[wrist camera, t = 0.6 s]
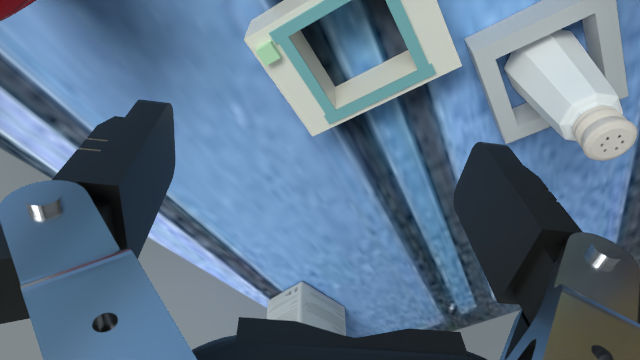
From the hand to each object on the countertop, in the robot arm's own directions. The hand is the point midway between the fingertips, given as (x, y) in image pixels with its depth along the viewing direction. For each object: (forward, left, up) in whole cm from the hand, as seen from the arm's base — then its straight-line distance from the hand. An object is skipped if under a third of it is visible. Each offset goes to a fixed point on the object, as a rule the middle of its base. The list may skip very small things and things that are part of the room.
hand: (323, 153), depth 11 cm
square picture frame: (-10, +15, -22) cm, 28 cm away
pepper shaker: (-10, +15, -22) cm, 29 cm away
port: (+1, +6, -22) cm, 23 cm away
